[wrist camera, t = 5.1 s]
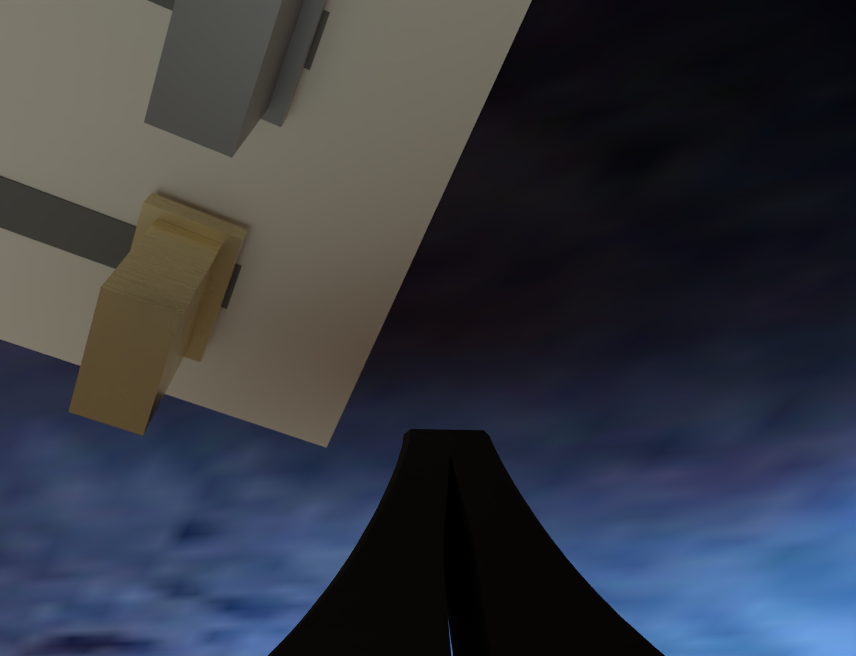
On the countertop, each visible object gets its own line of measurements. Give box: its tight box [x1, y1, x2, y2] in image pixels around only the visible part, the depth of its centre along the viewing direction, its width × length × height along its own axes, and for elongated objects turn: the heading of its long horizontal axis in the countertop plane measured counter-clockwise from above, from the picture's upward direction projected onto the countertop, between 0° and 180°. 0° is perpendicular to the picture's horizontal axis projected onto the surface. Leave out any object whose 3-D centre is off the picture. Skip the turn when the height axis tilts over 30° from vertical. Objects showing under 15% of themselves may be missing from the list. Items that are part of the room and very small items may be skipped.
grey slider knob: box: [144, 0, 327, 158], centre depth 11 cm, size 3×2×3 cm, turn 157°
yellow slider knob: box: [69, 193, 248, 436], centre depth 14 cm, size 3×2×3 cm, turn 157°
